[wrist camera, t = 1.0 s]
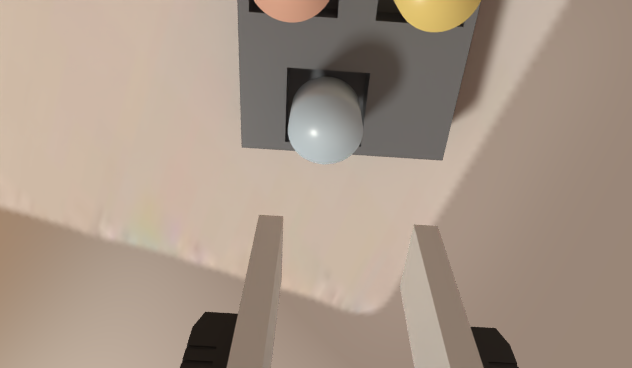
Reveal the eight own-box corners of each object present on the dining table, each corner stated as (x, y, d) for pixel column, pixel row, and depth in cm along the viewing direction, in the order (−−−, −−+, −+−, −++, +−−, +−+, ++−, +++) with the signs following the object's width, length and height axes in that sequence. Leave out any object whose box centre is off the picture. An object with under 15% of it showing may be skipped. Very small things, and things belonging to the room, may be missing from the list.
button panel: (244, -118, 29) (233, -118, 25) (484, -100, 29) (504, -99, 25) (249, 124, 37) (241, 147, 34) (432, 136, 38) (442, 160, 34)
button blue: (292, 74, 31) (289, 93, 28) (363, 79, 31) (367, 98, 28) (290, 137, 33) (286, 161, 31) (356, 142, 34) (358, 166, 31)
